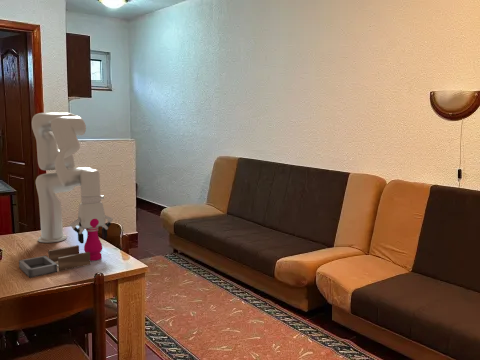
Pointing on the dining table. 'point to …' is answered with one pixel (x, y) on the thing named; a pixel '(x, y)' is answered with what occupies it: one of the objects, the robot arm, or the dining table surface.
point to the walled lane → (69, 257)
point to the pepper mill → (93, 241)
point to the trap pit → (37, 266)
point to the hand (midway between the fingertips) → (93, 240)
